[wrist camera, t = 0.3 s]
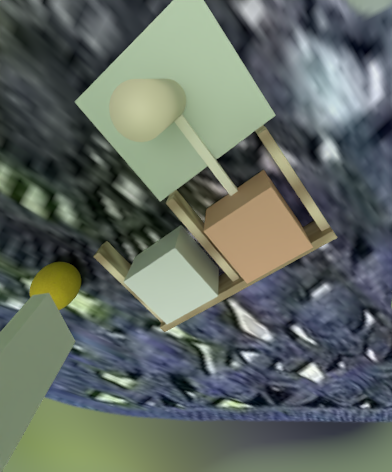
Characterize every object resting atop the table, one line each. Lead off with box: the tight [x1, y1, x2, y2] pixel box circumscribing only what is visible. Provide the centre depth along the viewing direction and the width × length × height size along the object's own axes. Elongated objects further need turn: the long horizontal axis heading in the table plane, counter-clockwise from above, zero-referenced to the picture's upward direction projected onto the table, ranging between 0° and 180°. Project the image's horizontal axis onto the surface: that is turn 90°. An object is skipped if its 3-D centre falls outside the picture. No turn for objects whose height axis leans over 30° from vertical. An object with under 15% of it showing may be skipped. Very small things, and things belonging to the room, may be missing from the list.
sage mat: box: [75, 0, 276, 201], centre depth 32 cm, size 14×16×1 cm
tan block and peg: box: [109, 79, 313, 284], centre depth 29 cm, size 22×8×12 cm, turn 38°
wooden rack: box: [93, 125, 337, 332], centre depth 37 cm, size 14×25×4 cm, turn 128°
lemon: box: [30, 262, 81, 310], centre depth 39 cm, size 6×6×8 cm
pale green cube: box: [124, 225, 219, 324], centre depth 38 cm, size 8×8×6 cm
